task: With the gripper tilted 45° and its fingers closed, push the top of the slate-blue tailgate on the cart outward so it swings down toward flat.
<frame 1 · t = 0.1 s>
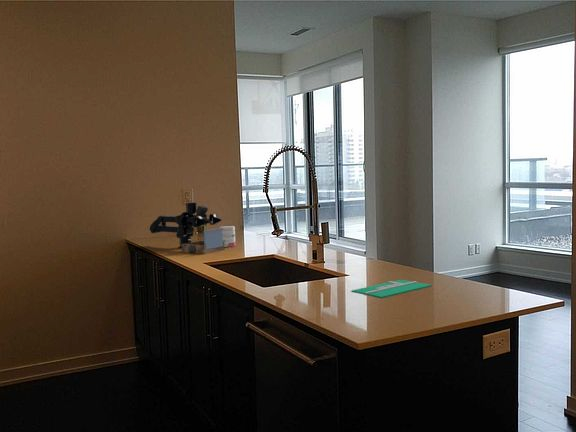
hand: (215, 220, 335), 17 cm above the worktop, tool horizontal, fingers open, 9 cm apart
sign: (392, 290, 217), on the worktop
tailgate: (213, 238, 328), point 7 cm above the worktop, hinge at 0.0°
ink box: (227, 246, 349), on the worktop
cart: (203, 250, 333), on the worktop
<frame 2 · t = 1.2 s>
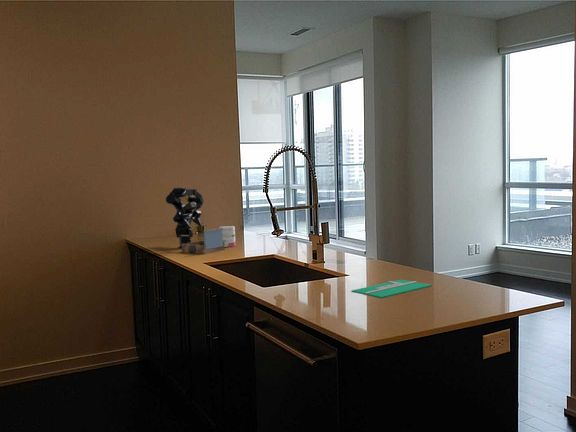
hand: (195, 226, 336), 13 cm above the worktop, tool tilted 45°, fingers open, 9 cm apart
nothing on the worktop moved.
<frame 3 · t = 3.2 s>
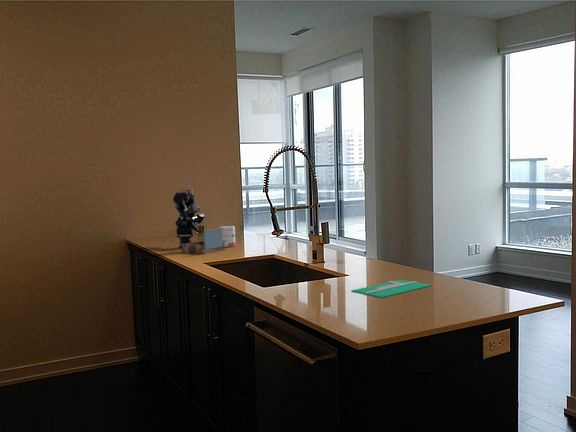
hand: (198, 230, 334), 11 cm above the worktop, tool tilted 45°, fingers closed
nothing on the worktop moved.
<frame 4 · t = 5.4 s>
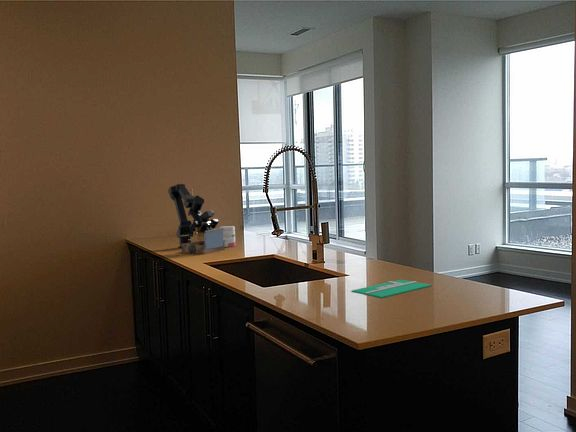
hand: (212, 235, 328), 9 cm above the worktop, tool tilted 45°, fingers closed, pressing on tailgate
tailgate: (214, 238, 328), point 7 cm above the worktop, hinge at 5.2°, touching gripper
everything else where it was.
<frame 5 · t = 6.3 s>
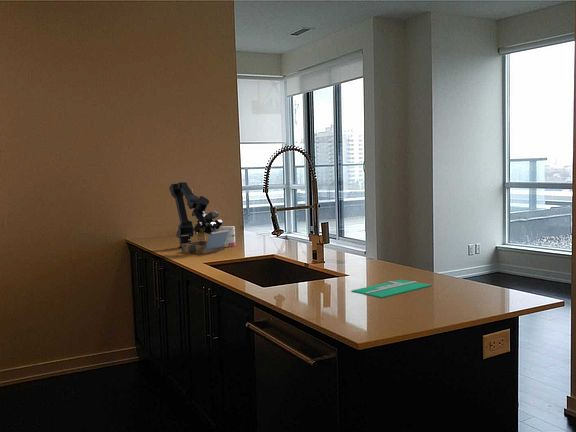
hand: (216, 236, 326), 8 cm above the worktop, tool tilted 45°, fingers closed, pressing on tailgate
tailgate: (217, 239, 326), point 7 cm above the worktop, hinge at 29.5°, touching gripper
everything else where it was.
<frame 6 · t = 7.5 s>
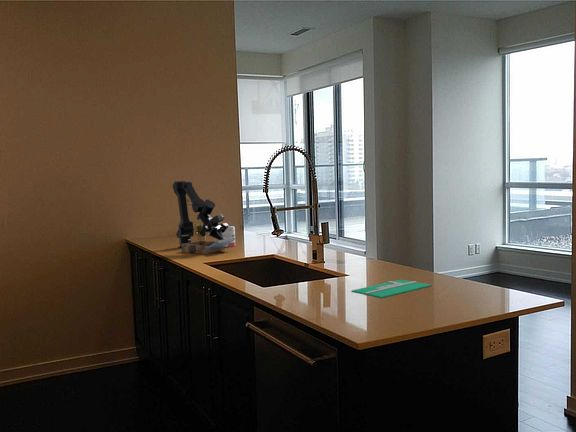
hand: (222, 240, 324), 7 cm above the worktop, tool tilted 45°, fingers closed
tailgate: (220, 243, 325), point 5 cm above the worktop, hinge at 65.1°
everything else where it was.
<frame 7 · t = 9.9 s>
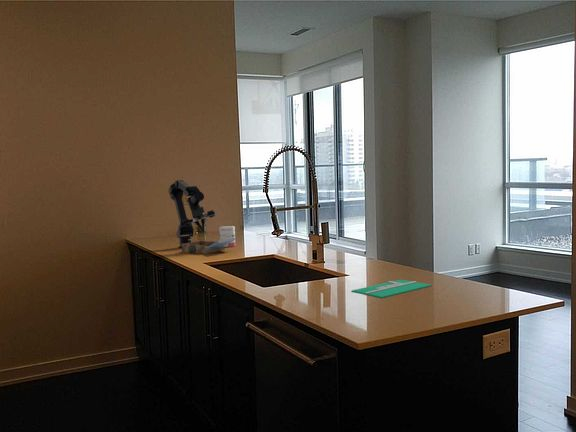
hand: (203, 232, 332), 11 cm above the worktop, tool tilted 25°, fingers closed
nothing on the worktop moved.
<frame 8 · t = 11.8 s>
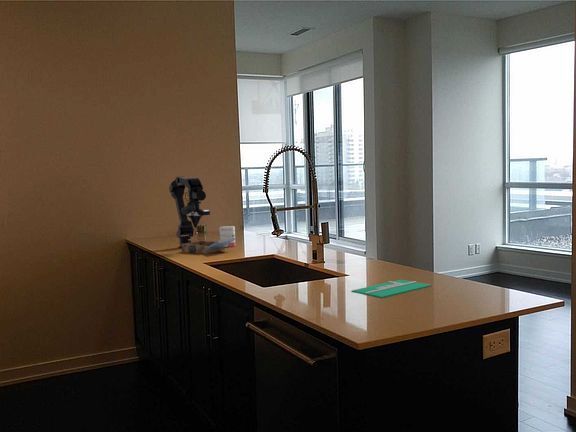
hand: (195, 227, 337), 13 cm above the worktop, tool pointing down, fingers closed
nothing on the worktop moved.
at the end: tailgate at +65° (first picture: +0°); ink box moved 0.2 cm from its start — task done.
